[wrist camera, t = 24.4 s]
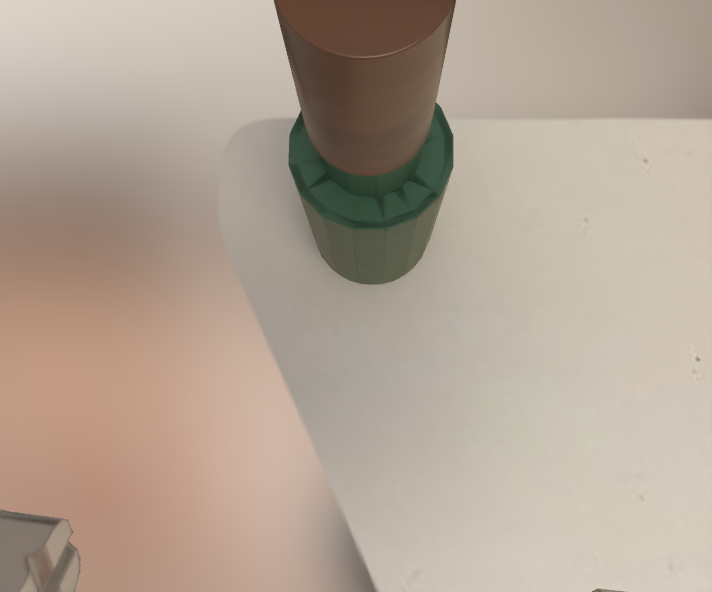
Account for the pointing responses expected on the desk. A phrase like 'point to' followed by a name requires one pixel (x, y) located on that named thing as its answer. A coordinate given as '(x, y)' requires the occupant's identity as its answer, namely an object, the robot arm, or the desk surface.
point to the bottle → (373, 205)
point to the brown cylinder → (366, 76)
